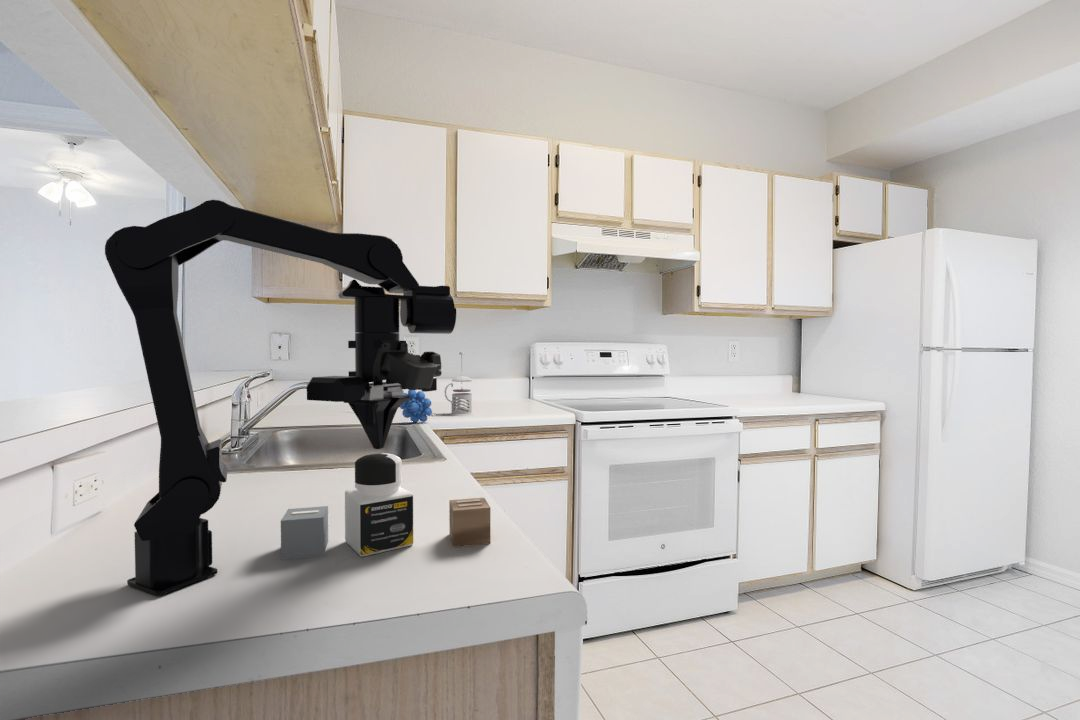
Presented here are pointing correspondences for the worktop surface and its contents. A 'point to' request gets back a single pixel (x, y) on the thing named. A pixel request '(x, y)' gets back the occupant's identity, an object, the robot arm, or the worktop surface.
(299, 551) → the slate block one
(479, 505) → the walnut block two
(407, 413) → the blue knobby cluster
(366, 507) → the medicine bottle
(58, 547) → the worktop surface
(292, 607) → the worktop surface
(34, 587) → the worktop surface
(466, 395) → the french press
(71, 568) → the worktop surface
